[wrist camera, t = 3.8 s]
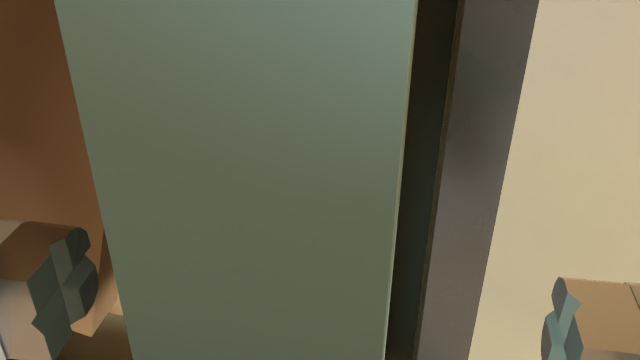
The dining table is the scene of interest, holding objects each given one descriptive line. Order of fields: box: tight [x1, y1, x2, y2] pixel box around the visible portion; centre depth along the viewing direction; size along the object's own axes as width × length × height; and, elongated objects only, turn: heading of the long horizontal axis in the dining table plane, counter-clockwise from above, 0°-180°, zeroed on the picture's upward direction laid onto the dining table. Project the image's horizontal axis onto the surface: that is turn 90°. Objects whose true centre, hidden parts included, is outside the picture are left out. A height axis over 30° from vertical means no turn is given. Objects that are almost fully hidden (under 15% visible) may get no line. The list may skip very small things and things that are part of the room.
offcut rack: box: [6, 0, 539, 360], centre depth 12 cm, size 15×20×7 cm
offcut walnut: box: [0, 0, 118, 337], centre depth 14 cm, size 4×10×2 cm, turn 164°
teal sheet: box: [54, 0, 418, 360], centre depth 11 cm, size 2×14×9 cm, turn 0°
